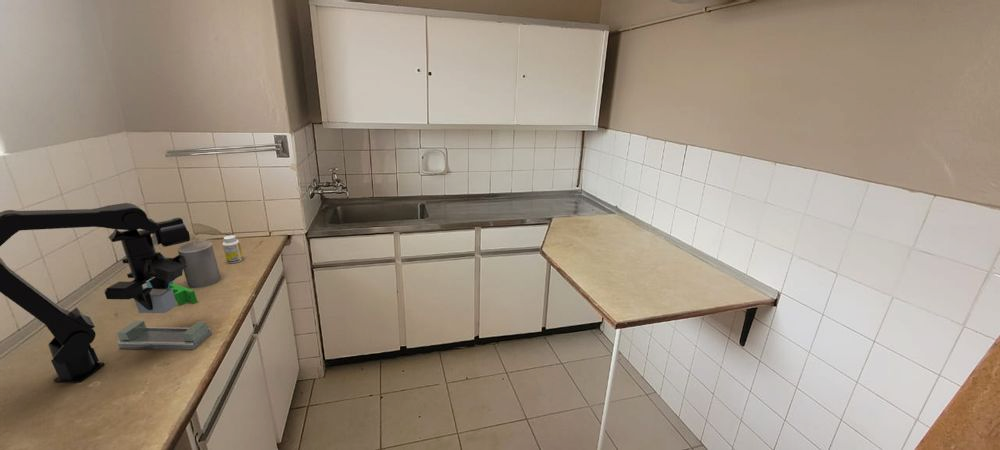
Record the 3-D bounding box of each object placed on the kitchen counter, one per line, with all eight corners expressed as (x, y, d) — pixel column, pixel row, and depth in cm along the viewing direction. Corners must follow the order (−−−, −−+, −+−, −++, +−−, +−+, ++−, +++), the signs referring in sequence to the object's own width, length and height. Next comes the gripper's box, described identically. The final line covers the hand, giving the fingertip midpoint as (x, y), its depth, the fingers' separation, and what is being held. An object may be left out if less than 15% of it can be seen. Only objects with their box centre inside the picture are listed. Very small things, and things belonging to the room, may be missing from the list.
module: (165, 313, 105) (160, 295, 103) (138, 312, 105) (133, 295, 103) (177, 305, 109) (172, 288, 107) (151, 304, 109) (146, 287, 107)
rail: (193, 349, 106) (189, 335, 105) (119, 348, 106) (114, 334, 105) (211, 334, 113) (207, 320, 111) (142, 332, 113) (137, 319, 111)
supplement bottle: (236, 256, 161) (231, 233, 157) (246, 259, 159) (241, 235, 155) (223, 262, 156) (217, 238, 152) (233, 264, 154) (227, 240, 151)
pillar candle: (187, 279, 142) (175, 241, 137) (220, 272, 148) (210, 235, 143) (188, 291, 135) (175, 251, 130) (222, 282, 141) (211, 244, 135)
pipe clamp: (163, 301, 129) (159, 288, 128) (176, 295, 133) (172, 283, 131) (185, 308, 125) (181, 295, 124) (197, 302, 128) (194, 290, 127)
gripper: (141, 268, 93) (159, 325, 98) (198, 239, 110) (210, 289, 116) (93, 268, 93) (113, 325, 98) (157, 238, 110) (172, 288, 115)
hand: (157, 305), depth 107 cm, fingers closed on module, 4 cm apart
